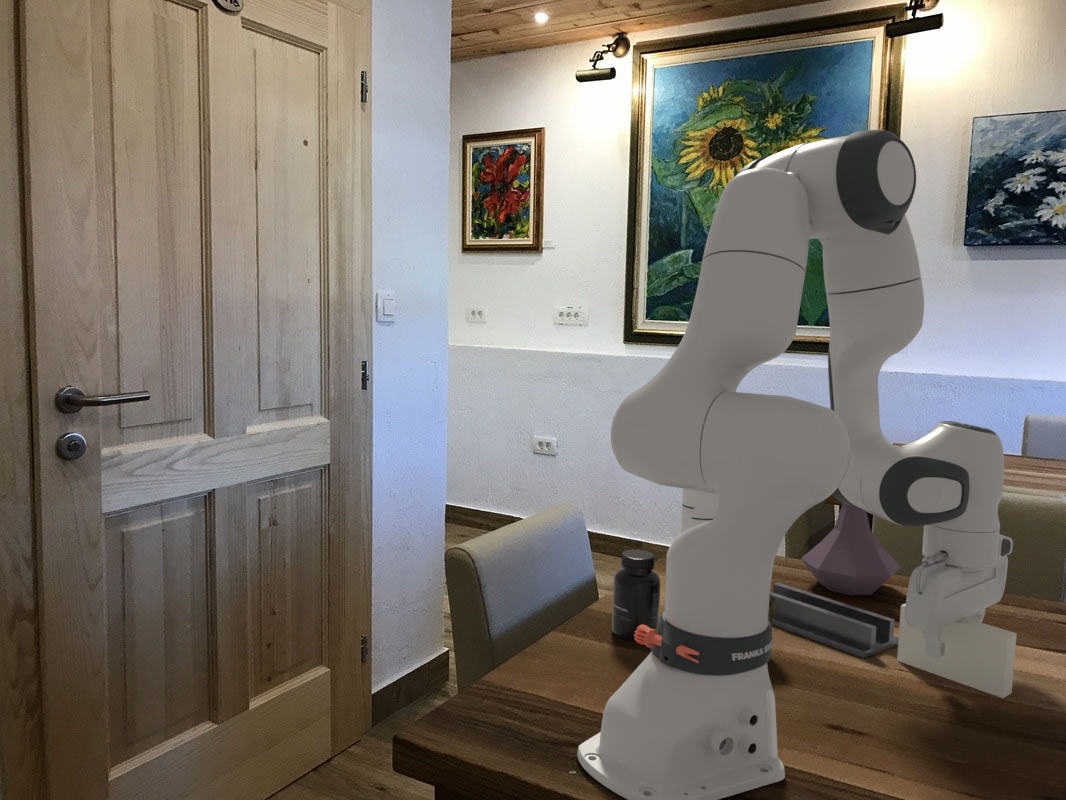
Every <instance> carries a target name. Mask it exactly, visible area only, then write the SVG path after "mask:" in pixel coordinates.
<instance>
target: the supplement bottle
mask: <svg viewBox="0 0 1066 800" xmlns="http://www.w3.org/2000/svg"><path fill="white" fill-rule="evenodd" d="M655 557H656V556H655V554H654V553H652V552H650V551H648V550H642V549H629V550H624V551H623V552H622V553H621V560H620V566H621V568H620V569H619V570H617V571H616V572H615V574H614V577H613V588H612V589H613V592H612V593H613V594H612V612H611V614H612V615H611V630H612V632H613V634H614V635H615V636H616V637H618V638H621V639H622V640H627V641H633V642H636V640H635V639H634V638H636V637H634V635H635V634H636V633H635V631H636V630H638V629H637V627H638V626H640V625H646V626H648V627H649V628H650V629H655V630H656V628H657V625H658V622H659V619H660V602H661V601H660V599H661V597H660V596H661V578H660V575H659V574H658V573H657V572H656V571H655V570H654V569H655V567H656V564H655V559H656V558H655Z"/></svg>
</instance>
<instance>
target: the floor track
mask: <svg viewBox="0 0 1066 800" xmlns="http://www.w3.org/2000/svg"><path fill="white" fill-rule="evenodd" d="M770 593H771V595H772V598H773V597H775V603H776V601H777V604H776V609H775V615H774V621H773V626H772V627H776V628H779V629H782V630H785V631H787V632H790V633H793V634H795V635H798V636H800V637H804V638H806V639H809V640H812V641H814V642H817V643H820V644H823V645H826V646H828V647H831V648H834V649H836V650H839V651H843V653H844V652H845V653H848V654H850V655H853V656H856V657H859V658H861V659H863V660H864V659H867V658H869V657H871V656H874V655H876V654H878V653H881V652H883V651H886V650H887V649H890V648H892V647H895V646H897V645H898V641H899V636H897V635H894V634H895V623H896V621H895V619H894V618H891V617H887V616H885V615H882V614H879V613H875V612H873V611H869V610H866V609H863V608H860V607H856V606H853V605H850V604H848V603H844V602H841V601H838V600H834V599H831V598H829V597H825V596H822V595H819V594H816V593H813V592H809V591H806V590H803V589H800V588H797V587H793V586H790V585H788V584H784V583H780V582H775V583H773V584H772V591H770Z"/></svg>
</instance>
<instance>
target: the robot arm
mask: <svg viewBox="0 0 1066 800" xmlns="http://www.w3.org/2000/svg"><path fill="white" fill-rule="evenodd" d="M916 185H917V169H916V165H915V161H914V158H913V155H912V153H911V150H910V149H909V147H908V145H907V144H906V143H905V142H904V141H903V140H902V139H900V137H898V135H896V134H895V133H894V132H892V131H891V130H890V131H889V130H886V129H885V130H884V129H868V130H859V131H854V132H853V133H851V134H849V135H844V136H842V135H841V136H836V137H832V138H831V137H830V138H826V139H825V138H824V139H822V140H817V141H807V142H804V143H801V144H796V145H794V146H791V147H790V148H787V149H785V150H781V151H779V152H777V153H775V154H771V155H768V156H766V155H765V156H761V157H759V158H757V159H755V160H753V161H751V162H749V163H748V164H747V165H745V166H743V168H741V169H740V170H739V171H738V172H737V174H736V175H735V176H733V177H732V178H731V179H730V180H729V181H728V183H727V184H726V185H725V187H724V189H723V191H722V193H721V196H720V199H719V200H718V203H717V206H716V209H715V211H714V214H713V216H712V217H713V218H712V222H711V223H710V227H709V230H708V234H707V237H706V242H705V245H704V250H703V251H704V252H703V255H702V259H701V267H700V272H699V277H698V282H697V288H696V292H695V296H694V300H693V304H692V305H693V306H692V309H691V313H690V317H689V321H688V324H687V325H686V329H685V331H684V334H683V336H682V338H681V340H680V343H678V346H677V348H676V349H675V350H674V353H673V354H672V355H671V357H670V358H669V359H668V360H667V362H666V363H665V365H664V366H663V367H662V368H661V369H660V370H659V371H658V372H657V373H656V374H655V375H654V376H653V377H652V378H651V379H650V380H649V381H647V383H645V384H644V385H642V386H641V387H640V388H638V389H636V390H635V391H633V392H631V393H629V395H627V396H626V397H625V398H624V399H623V401H622V402H621V403H620V404H619V406H618V407H617V409H616V411H615V414H614V416H613V419H612V422H611V427H610V441H611V442H610V444H611V449H612V451H613V454H614V457H615V459H616V461H617V463H618V465H619V466H620V467H621V469H622V470H624V471H625V472H627V473H629V474H632V475H634V476H636V477H638V478H641V479H643V480H646V481H649V482H652V483H654V484H657V485H660V486H664V487H665V486H666V487H671V488H678V489H682V490H683V489H689V490H696V491H702V492H708V493H713V494H715V495H717V498H718V503H717V510H716V514H715V516H714V519H713V520H712V521H708V522H705V523H702V524H699V525H697V526H694V527H692V528H690V529H688V530H686V531H684V532H682V533H681V532H680V534H678V535H677V536H676V537H675V538H674V540H672V543H671V544H670V546H669V548H668V550H667V552H666V559H665V582H664V583H665V585H664V586H665V587H664V588H665V589H664V610H663V611H662V612H661V614H660V616H659V622H658V625H657V628H656V630H655V629H650V628H649V627H648V626H646V625H640V626H638V627H637V629H638V630H636V631H635V633H636V634H635V635H634V637H636V638H634V639H635V640H636V641H635V642H636V643H637V644H640V645H645V646H646V647H647V648H649V649H650V652H649V654H648V655H647V656H646V657H645V658H644V659H643V661H641V663H640V664H639V665H638V666H637V667H636V669H634V671H633V672H632V673H631V674H630V676H628V678H627V679H626V680H625V681H624V682H623V684H621V686H620V687H619V688H618V689H617V690H616V691H615V692H614V693H613V694H612V695H611V696H610V697H609V699H608V700H607V701H606V704H605V707H604V709H603V714H602V720H601V726H600V727H601V728H600V731H599V732H598V733H597V734H595V735H593V736H591V737H590V738H588V739H587V740H585V741H584V742H582V743H581V744H579V745H578V747H577V755H576V756H577V760H578V762H579V764H580V765H581V766H582V768H583V769H584V770H585V771H586V772H587V774H589V775H590V776H591V777H592V778H593V779H595V780H596V781H597V782H599V783H600V784H601V785H602V786H604V787H605V788H606V789H609V790H611V791H612V792H613V793H615V794H617V795H618V796H621V797H622V798H624V799H626V800H721V799H724V798H727V797H732V796H734V795H738V794H742V793H745V792H747V791H748V792H749V791H751V790H755V789H758V788H761V787H763V786H768V785H771V784H775V783H778V782H781V781H783V780H784V779H785V778H786V777H785V776H786V775H785V774H786V772H785V765H784V764H783V762H782V760H781V759H780V756H779V755H778V753H779V752H778V751H779V750H778V735H777V734H778V731H777V712H776V711H777V709H776V697H775V692H774V689H773V686H772V681H771V678H770V675H769V668H768V662H769V661H770V660H771V658H772V647H773V644H774V643H773V642H774V639H773V636H772V635H773V633H772V632H773V626H771V623H770V622H769V621H768V614H769V600H770V592H771V588H772V580H773V579H772V578H773V572H774V565H775V560H776V558H777V557H776V556H777V553H778V550H779V547H780V545H781V544H782V541H783V539H784V537H785V535H786V534H787V532H788V530H789V529H791V527H792V526H793V524H794V523H795V522H796V521H797V520H798V519H799V518H800V517H801V516H803V515H804V513H805V512H807V511H808V510H810V509H812V508H813V507H815V506H816V505H818V504H820V503H822V502H823V501H825V500H827V499H828V498H829V497H830V496H831V495H833V497H834V498H835V499H836V500H837V501H838V502H839V503H841V504H842V503H843V504H844V505H846V506H849V507H852V508H856V509H859V510H863V511H866V513H869V514H871V515H873V516H875V517H876V518H879V519H881V520H882V519H883V520H886V521H888V522H890V523H892V524H895V525H897V526H902V527H908V528H917V527H923V535H922V551H921V552H922V553H921V554H922V555H923V556H924V557H923V558H922V560H921V563H920V565H919V566H917V567H916V568H914V569H913V571H912V572H911V575H910V578H909V581H908V587H907V592H906V600H905V604H906V606H905V620H906V622H907V624H908V625H909V626H911V627H914V628H917V629H920V630H922V633H923V636H924V639H925V641H926V654H927V655H928V656H930V657H933V658H936V659H937V658H939V657H941V656H943V655H944V653H945V652H944V649H945V644H944V643H942V640H941V634H942V633H943V627H945V626H947V625H949V624H951V623H954V622H956V621H958V620H960V619H962V618H967V619H970V620H974V621H977V622H980V623H983V620H984V617H985V615H986V610H987V609H986V608H988V607H991V606H993V605H995V604H997V603H999V602H1000V601H1001V599H1002V597H1003V595H1004V594H1005V593H1004V592H1005V589H1006V588H1005V587H1006V582H1007V574H1008V566H1009V559H1008V556H1009V555H1010V554H1012V552H1013V546H1014V541H1013V539H1012V538H1011V537H1009V536H1005V535H1002V534H1000V530H1001V522H1000V518H999V512H998V511H999V510H998V509H999V505H1000V502H1001V500H1002V497H1003V495H1004V494H1003V491H1004V479H1005V454H1004V447H1003V443H1002V440H1001V438H1000V436H999V435H998V434H997V433H996V432H995V431H993V430H992V429H989V428H986V427H981V426H978V425H977V426H976V425H973V424H972V425H971V424H969V423H963V422H958V421H954V420H953V421H952V420H943V421H940V422H938V423H937V424H936V425H935V427H934V428H933V429H932V430H931V431H929V432H928V433H927V434H925V435H923V436H922V437H921V438H919V439H917V440H914V441H912V442H910V443H906V444H903V445H901V446H898V445H894V444H892V443H890V442H889V441H888V439H886V438H887V437H885V436H884V434H883V432H882V428H881V419H880V417H881V416H880V398H879V375H880V371H881V369H882V368H883V366H884V364H885V362H886V361H887V360H888V359H890V358H891V357H892V356H894V355H896V354H898V353H899V352H901V351H902V350H904V349H905V348H906V347H907V346H908V345H909V344H910V343H912V342H913V340H914V339H915V338H916V336H917V335H918V334H919V332H920V331H921V328H922V327H923V324H924V323H923V322H924V315H925V313H924V312H925V295H924V288H923V283H922V282H923V281H922V273H921V269H920V268H921V266H920V261H919V257H918V253H917V251H918V250H917V247H916V244H915V241H914V237H913V233H912V230H911V227H910V224H909V221H908V218H907V215H906V213H907V212H908V211H909V210H908V209H909V208H910V206H911V204H912V201H913V199H914V195H915V190H916V187H917V186H916ZM812 239H813V240H814V239H816V240H819V242H820V243H821V245H822V267H823V268H822V269H823V281H824V288H825V295H826V302H827V308H828V311H827V312H828V319H829V342H828V351H827V374H828V389H829V391H828V393H829V404H830V405H829V406H830V408H829V407H827V406H824V405H820V404H817V403H814V402H810V401H807V400H803V399H798V398H795V397H792V396H788V395H775V394H766V393H765V394H763V393H752V392H751V393H750V392H740V391H737V389H738V388H739V385H740V384H741V383H742V381H743V380H744V378H745V377H746V376H747V375H748V374H749V373H750V372H751V371H753V370H754V369H756V368H757V367H758V366H760V365H763V364H765V363H767V362H770V361H772V360H774V359H776V358H778V357H779V356H781V355H782V354H784V353H785V352H786V350H788V348H789V347H790V345H791V344H792V342H793V341H794V339H795V336H796V333H797V328H798V321H799V315H800V308H801V303H802V296H803V291H804V284H805V278H806V277H805V276H806V271H807V265H808V264H807V263H808V257H809V255H808V254H809V245H810V240H812Z"/></svg>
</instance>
